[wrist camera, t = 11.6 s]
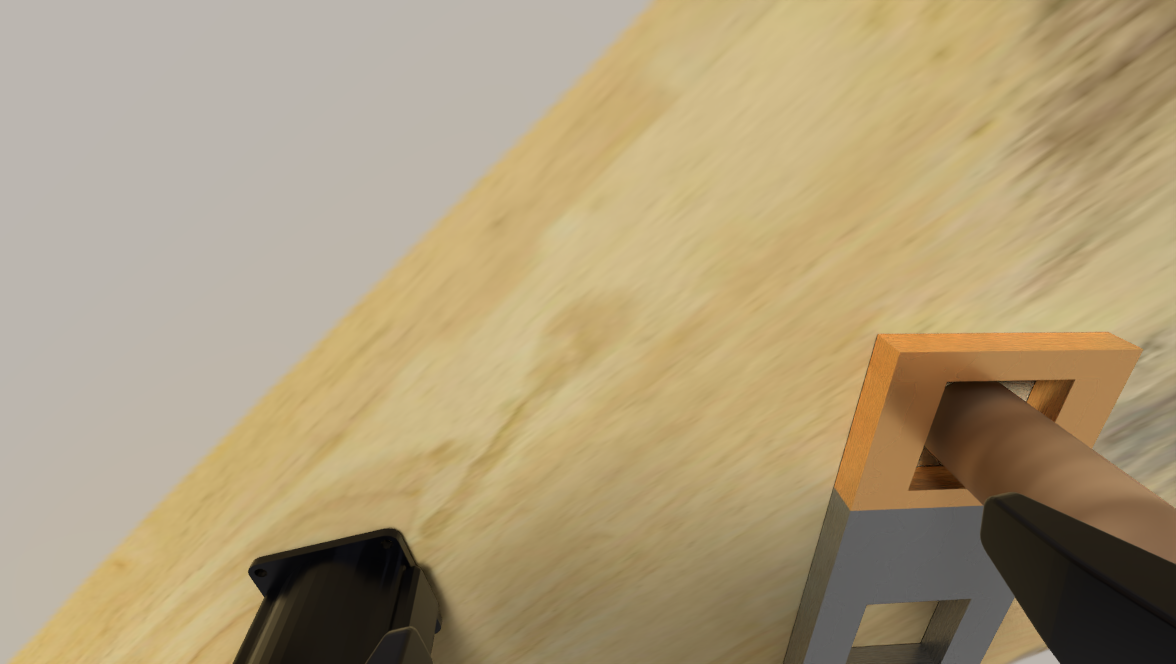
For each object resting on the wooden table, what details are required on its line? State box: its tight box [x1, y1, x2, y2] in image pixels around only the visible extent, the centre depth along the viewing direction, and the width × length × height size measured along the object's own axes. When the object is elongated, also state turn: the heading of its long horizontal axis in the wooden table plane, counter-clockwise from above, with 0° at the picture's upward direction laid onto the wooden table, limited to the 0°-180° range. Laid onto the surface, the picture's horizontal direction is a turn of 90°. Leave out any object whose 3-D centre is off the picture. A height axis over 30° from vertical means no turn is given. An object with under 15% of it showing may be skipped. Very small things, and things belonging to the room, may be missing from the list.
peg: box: [924, 381, 1176, 564], centre depth 18 cm, size 4×4×15 cm
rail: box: [783, 332, 1143, 664], centre depth 27 cm, size 20×10×2 cm, turn 178°
